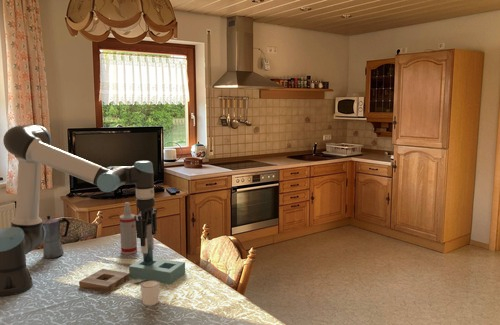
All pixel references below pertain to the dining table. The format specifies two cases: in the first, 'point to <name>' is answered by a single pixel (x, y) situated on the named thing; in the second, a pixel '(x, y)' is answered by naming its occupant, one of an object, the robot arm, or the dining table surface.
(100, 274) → the socket block
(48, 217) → the moka pot
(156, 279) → the block
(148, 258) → the steel pin
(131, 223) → the white plastic bottle
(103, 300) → the dining table surface
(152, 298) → the shot glass
